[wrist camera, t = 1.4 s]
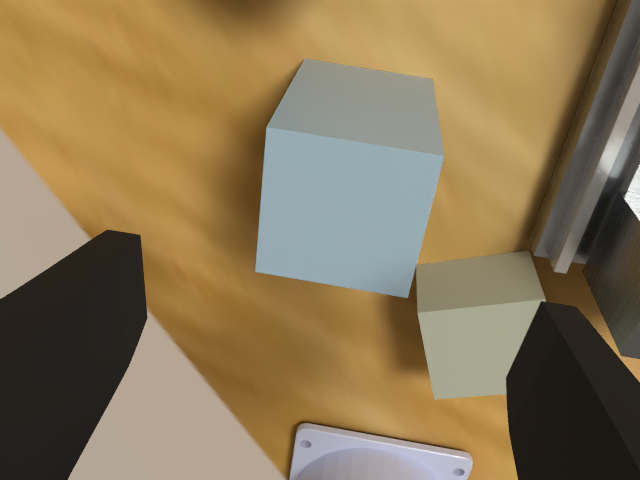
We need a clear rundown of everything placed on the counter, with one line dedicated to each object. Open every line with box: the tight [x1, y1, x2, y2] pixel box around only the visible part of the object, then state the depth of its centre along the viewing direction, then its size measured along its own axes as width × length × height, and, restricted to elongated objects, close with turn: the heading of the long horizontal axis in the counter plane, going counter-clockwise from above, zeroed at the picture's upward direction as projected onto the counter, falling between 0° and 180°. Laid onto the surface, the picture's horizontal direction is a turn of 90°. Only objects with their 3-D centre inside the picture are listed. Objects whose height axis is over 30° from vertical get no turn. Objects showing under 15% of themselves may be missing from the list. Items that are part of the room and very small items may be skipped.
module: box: [255, 59, 444, 298], centre depth 17 cm, size 4×4×6 cm
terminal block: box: [416, 250, 546, 400], centre depth 21 cm, size 4×4×3 cm
